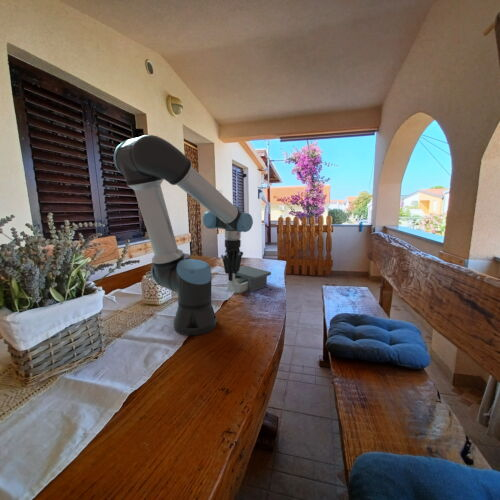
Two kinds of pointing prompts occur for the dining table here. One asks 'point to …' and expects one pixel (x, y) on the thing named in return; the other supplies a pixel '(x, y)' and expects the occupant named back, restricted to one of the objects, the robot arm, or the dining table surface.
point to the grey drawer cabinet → (254, 277)
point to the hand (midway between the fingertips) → (232, 286)
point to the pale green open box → (240, 285)
